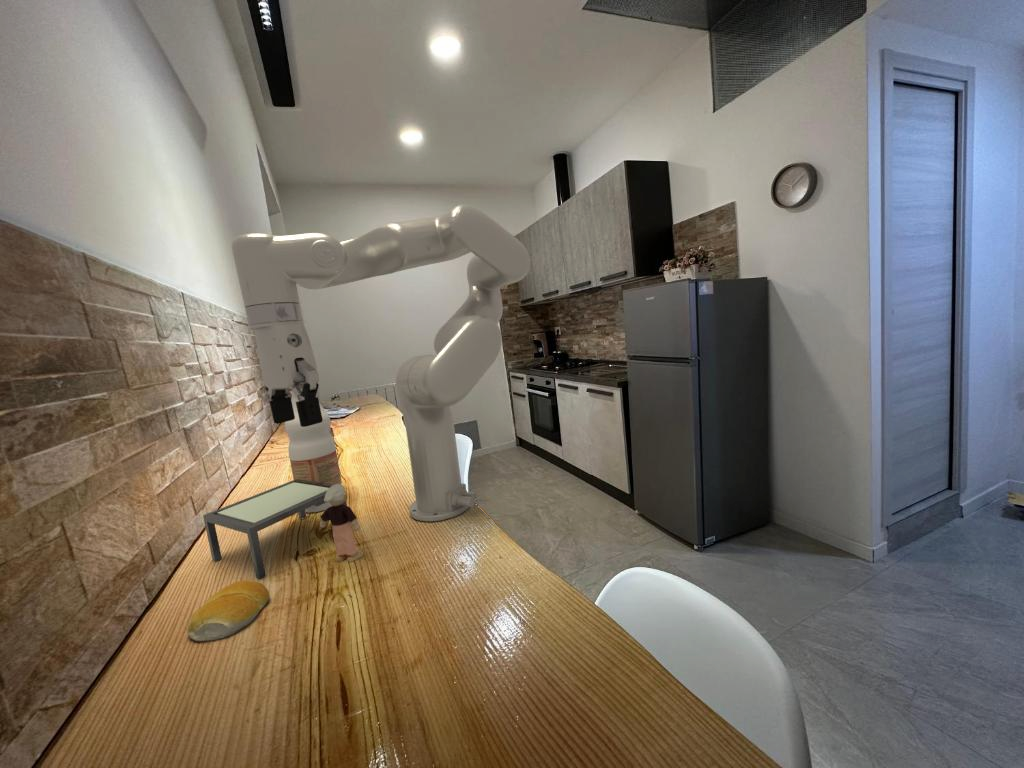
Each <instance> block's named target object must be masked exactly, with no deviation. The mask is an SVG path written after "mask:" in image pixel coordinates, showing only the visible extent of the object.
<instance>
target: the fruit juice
mask: <svg viewBox="0 0 1024 768" xmlns="http://www.w3.org/2000/svg"><path fill="white" fill-rule="evenodd" d="M302 389H303V388H301V389H300V390H301V391H302ZM288 392H289V393H290V395H291V401H292V406H293V411H294V415H295V419H294V420H290V421H286V422H284V431H285V433H286V435H287V437H288V438H289V443H288V449H287V450H288V458H289V461H290V462H289V463H290V468H291V472H292V473H291V474H292V478H293V480H295V479H300V480H307V481H313V482H320V483H327V484H333V485H335V484H342V485H343V482H342V477H341V470H340V464H339V459H338V453H337V446H336V442H335V438H334V437H333V435H332V433H331V423H332V421H331V418H330V415H329V413H328V412H327V410H325V409H324V408H323V406H322V404H321V402H319V404H320V409H321V414H322V419H323V421H322V422H321V423H317V424H314V425H310V426H306V427H302V426H301V425H300V420H299V415H298V411H297V406H296V402H298V401H299V400H298V399H297V397H296V395H295V394H294V392H293V390H292V389H289V391H288ZM331 506H333V505H331V504H330V502H326V503H324V504H322V505H320V506H314V505H313V506H311V507H309V508H307V509H305V512H308V513H307V514H310V513H309V512H313V513H319V512H322V510H323V511H325V510H326V509H327V508H329V507H331ZM318 511H319V512H318Z"/></svg>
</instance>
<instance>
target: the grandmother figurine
mask: <svg viewBox="0 0 1024 768" xmlns="http://www.w3.org/2000/svg"><path fill="white" fill-rule="evenodd" d="M345 493H346V487H345V486H344V485H343V483H342V484H335V485H333V486H331V487H330V488H329V489H328V491H327V492H326V494H325V498H324V501H325V502H330V504H331V505H333V506H331V507H329V508H327V509H326V510H323V513H322V514H321V515H320V524H319V526H320V527H321V528H326V527H327V524H328V521H329V522H330V525H331V526H332V537H333V542H334V546H335V551H336V554H337V556H336V557H335V559H334V560H335V562H342V561H344V560H346V562H347V563H352V562H355V561H356V560H358V559H360V558H362V557H363V556H364V552H363V551H362V550H361V549H357V546H356V542H355V537H354V531H355V532H358V531H360V530H361V528H362V527H361V525H360V524H359V521H358V517H357V516H356V514H355V512H354V511H353V510H352V508H351V507H350V506H349V505H347V504H346V505H347V506H346V505H343V503H344V502H345V499H346V494H345ZM346 500H347V499H346ZM353 530H354V531H353Z"/></svg>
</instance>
